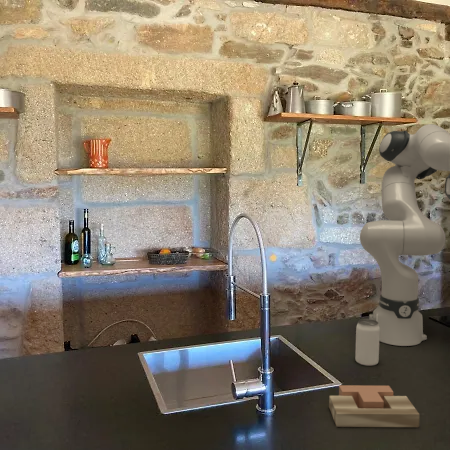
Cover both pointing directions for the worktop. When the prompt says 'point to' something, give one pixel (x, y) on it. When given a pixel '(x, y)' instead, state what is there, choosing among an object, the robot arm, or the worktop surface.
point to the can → (367, 342)
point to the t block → (366, 395)
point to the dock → (374, 413)
